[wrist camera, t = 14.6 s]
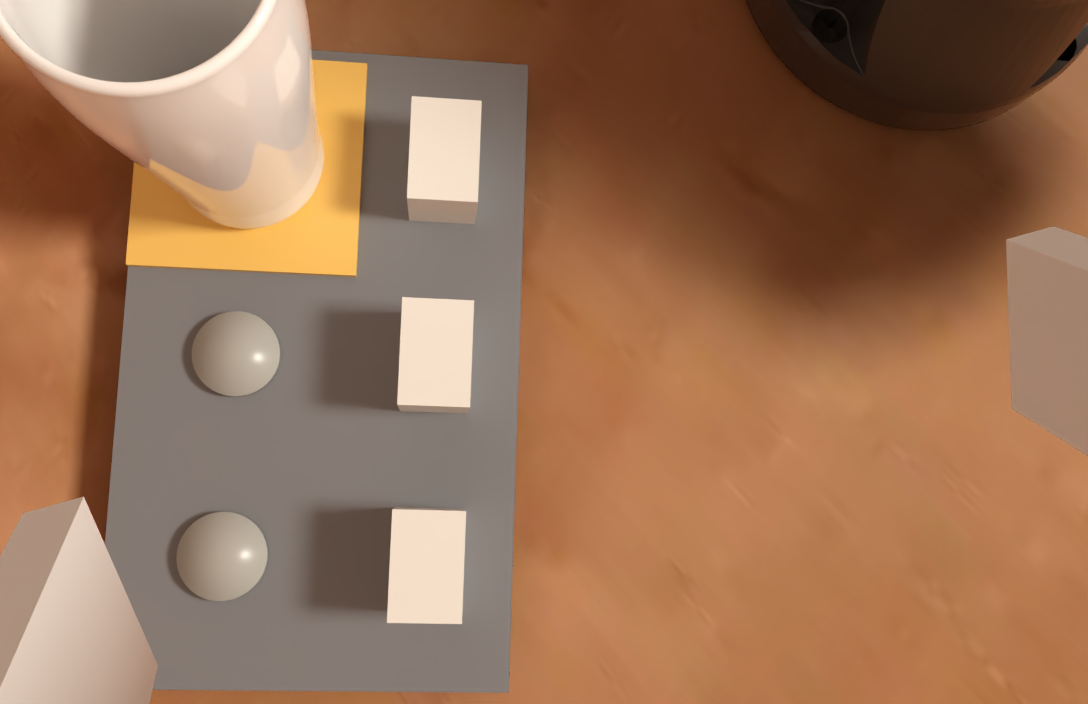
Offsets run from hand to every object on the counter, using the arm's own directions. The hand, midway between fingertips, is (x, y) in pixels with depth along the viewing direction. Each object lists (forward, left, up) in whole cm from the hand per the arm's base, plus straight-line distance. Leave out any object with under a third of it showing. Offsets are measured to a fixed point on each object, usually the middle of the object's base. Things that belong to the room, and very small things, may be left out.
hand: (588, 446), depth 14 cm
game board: (+6, -4, -24) cm, 25 cm away
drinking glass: (+9, -11, -23) cm, 27 cm away
